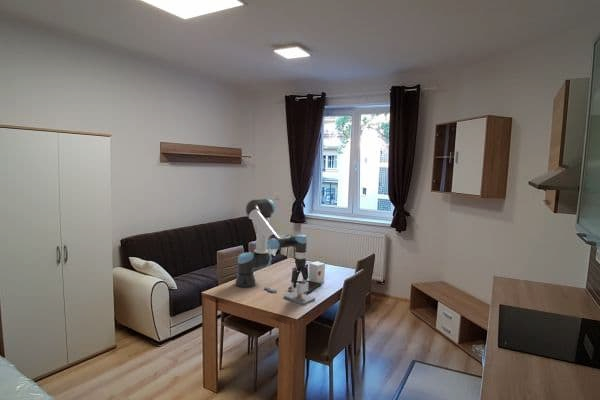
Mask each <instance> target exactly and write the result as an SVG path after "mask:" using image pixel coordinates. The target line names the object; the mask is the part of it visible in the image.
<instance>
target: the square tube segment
mask: <svg viewBox="0 0 600 400" xmlns="http://www.w3.org/2000/svg"><path fill="white" fill-rule="evenodd" d="M297 283H298V287H297V293H300V294H301V293H304V292H306V291H308V282H306V281H303V280H302V279H298V280H297ZM291 286H292V291H291V292H293V291H294V287H293V282H291Z"/></svg>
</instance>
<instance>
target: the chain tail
mask: <svg viewBox="0 0 600 400" xmlns="http://www.w3.org/2000/svg"><path fill="white" fill-rule="evenodd" d="M263 290H264V291H265V290H266V291H267V292H269V293H275V294H276V293H278V290H276V289H272V288H271V287H267V286H266V287H264V288H263Z"/></svg>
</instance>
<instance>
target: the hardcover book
mask: <svg viewBox="0 0 600 400" xmlns="http://www.w3.org/2000/svg"><path fill="white" fill-rule="evenodd" d="M306 282H308V291H306V292H304V293H302V294H305V295H308V296H309V295H310V294H311V293H313V292H314V291H315V290H317V289H318V288H320V287H321V286H322V283H318V282H313V281H309V279H308V280H306ZM287 289H288V291H289V292H294V291H292V285H291V286H290V287H288V288H287Z"/></svg>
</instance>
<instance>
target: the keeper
mask: <svg viewBox="0 0 600 400" xmlns="http://www.w3.org/2000/svg"><path fill="white" fill-rule="evenodd" d="M283 299H285V300H289V301H292V302H295V303H298V304H299V305H303V306H306V305H307V304H309V303H311V302H314V301H316V297H313V296H311V295H309V294H308V295H306V294H302V293H301V294H300V293H296V292H293V291H291V292H290V293H287V294H285V295H283Z"/></svg>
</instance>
